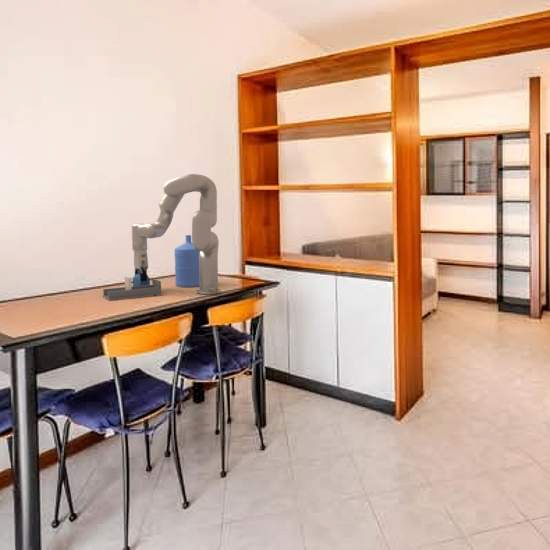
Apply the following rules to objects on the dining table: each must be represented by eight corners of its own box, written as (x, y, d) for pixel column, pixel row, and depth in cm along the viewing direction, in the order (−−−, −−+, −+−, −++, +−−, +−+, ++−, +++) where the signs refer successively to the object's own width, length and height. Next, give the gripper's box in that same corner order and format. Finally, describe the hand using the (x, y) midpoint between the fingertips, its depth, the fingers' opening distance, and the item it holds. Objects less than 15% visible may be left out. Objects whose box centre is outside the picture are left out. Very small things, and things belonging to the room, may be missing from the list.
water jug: (201, 287, 283) (200, 236, 280) (172, 287, 284) (171, 236, 280) (205, 283, 299) (204, 234, 295) (178, 283, 299) (177, 234, 295)
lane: (161, 295, 260) (161, 281, 259) (109, 300, 247) (108, 286, 246) (154, 291, 270) (153, 278, 269) (102, 296, 257) (102, 282, 256)
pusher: (134, 294, 255) (133, 277, 254) (129, 295, 254) (128, 278, 253) (130, 292, 261) (129, 275, 260) (125, 292, 260) (124, 276, 259)
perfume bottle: (140, 291, 271) (139, 269, 269) (133, 290, 274) (132, 268, 273) (150, 290, 276) (149, 267, 274) (142, 289, 279) (141, 267, 278)
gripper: (152, 248, 267) (153, 281, 269) (141, 245, 281) (142, 277, 284) (137, 249, 263) (138, 282, 265) (127, 246, 277) (129, 278, 280)
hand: (140, 279), depth 274 cm, fingers open, 9 cm apart
